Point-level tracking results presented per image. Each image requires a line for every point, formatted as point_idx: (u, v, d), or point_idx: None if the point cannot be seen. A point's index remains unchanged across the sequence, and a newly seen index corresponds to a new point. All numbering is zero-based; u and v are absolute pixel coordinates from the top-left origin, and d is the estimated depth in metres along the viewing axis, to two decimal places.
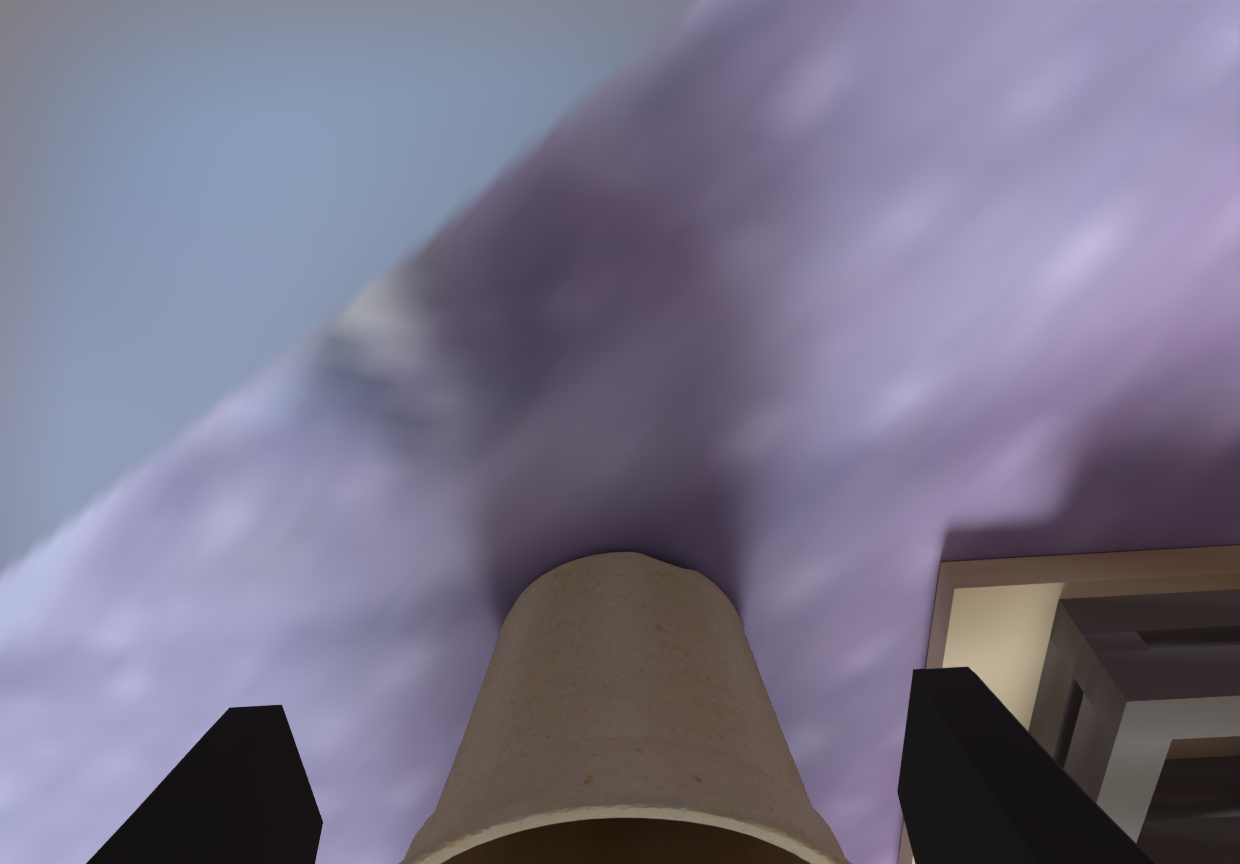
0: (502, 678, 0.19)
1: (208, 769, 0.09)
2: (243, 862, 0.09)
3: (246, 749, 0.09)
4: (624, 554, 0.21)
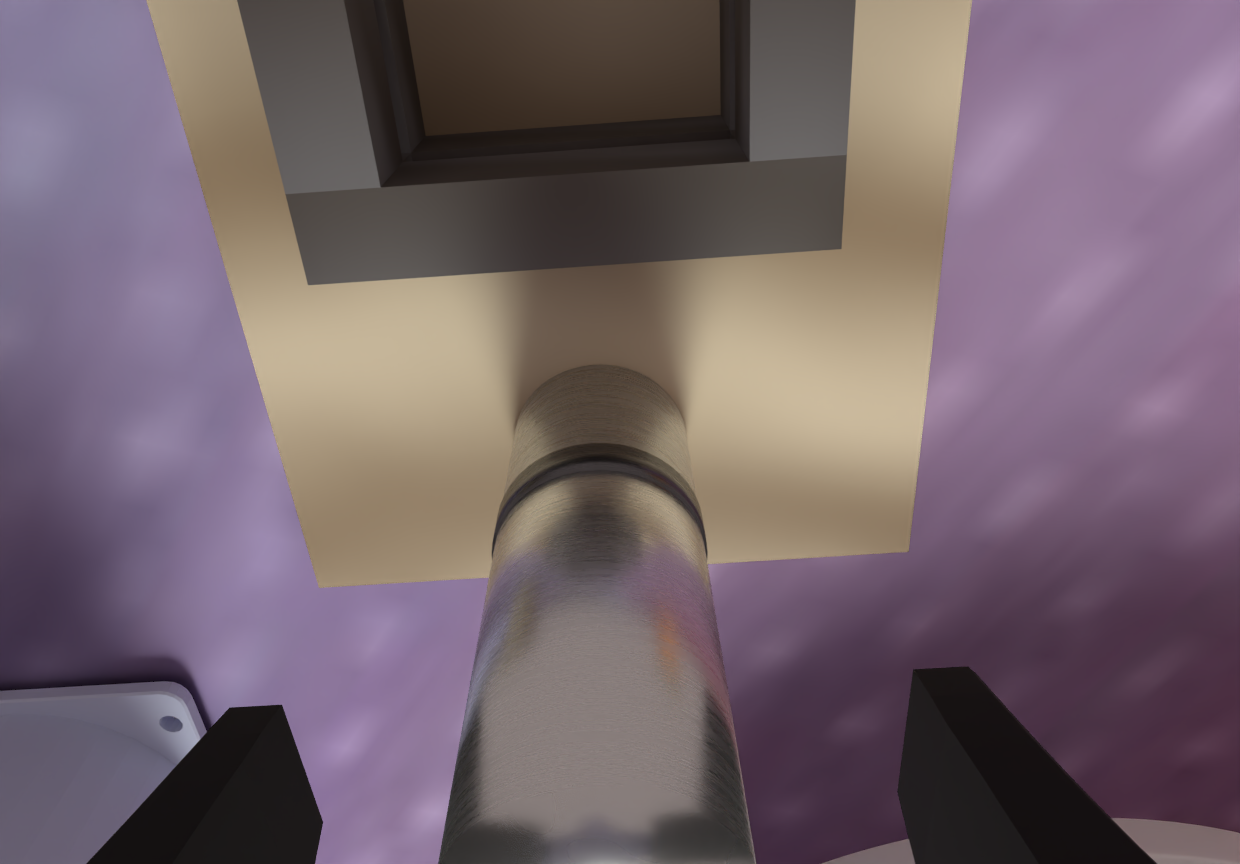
0: None
1: (208, 769, 0.09)
2: (243, 862, 0.09)
3: (246, 749, 0.09)
4: None
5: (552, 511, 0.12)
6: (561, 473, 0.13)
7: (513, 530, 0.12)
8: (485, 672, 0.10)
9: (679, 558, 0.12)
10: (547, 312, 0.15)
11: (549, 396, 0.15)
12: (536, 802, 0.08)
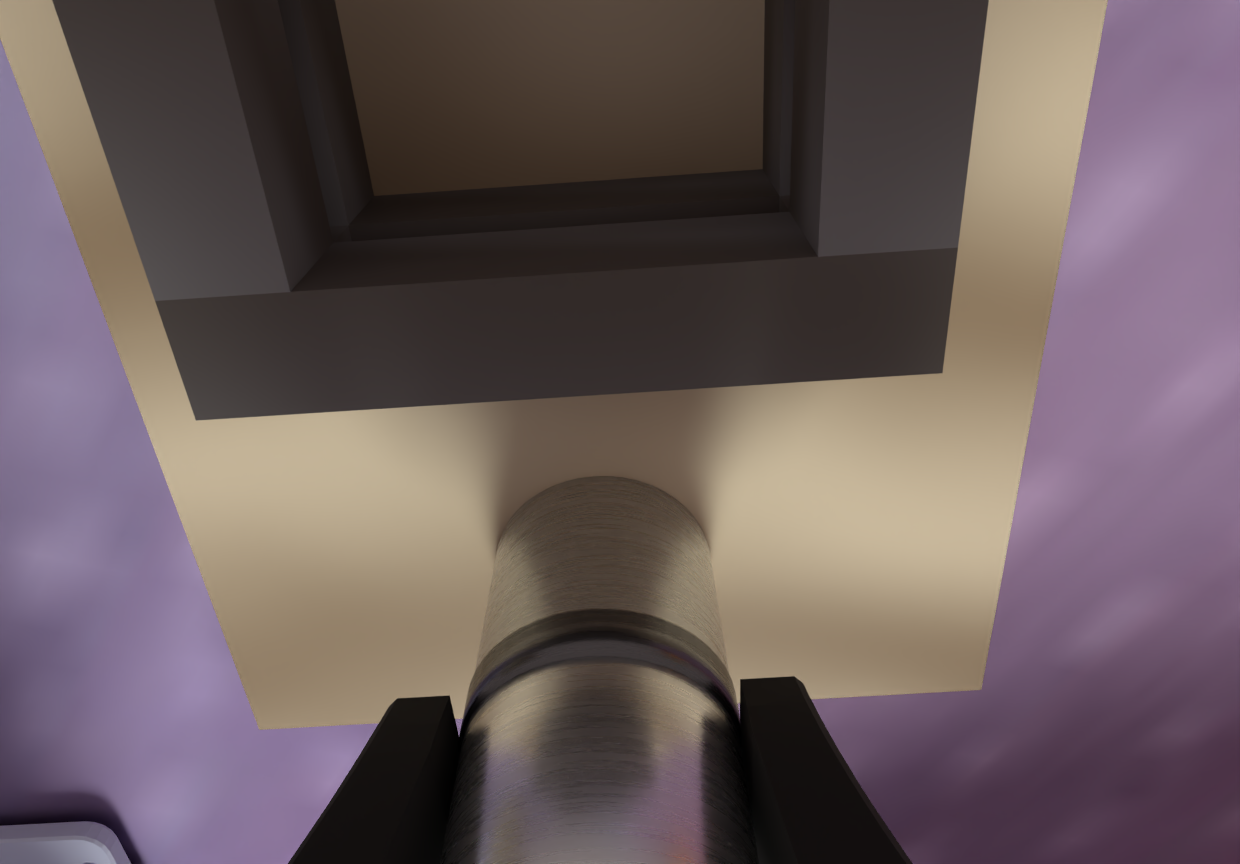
0: None
1: (396, 759, 0.09)
2: (430, 852, 0.09)
3: (428, 739, 0.09)
4: None
5: (535, 727, 0.09)
6: (550, 659, 0.09)
7: (483, 745, 0.09)
8: None
9: (712, 807, 0.08)
10: (536, 413, 0.12)
11: (538, 521, 0.12)
12: None
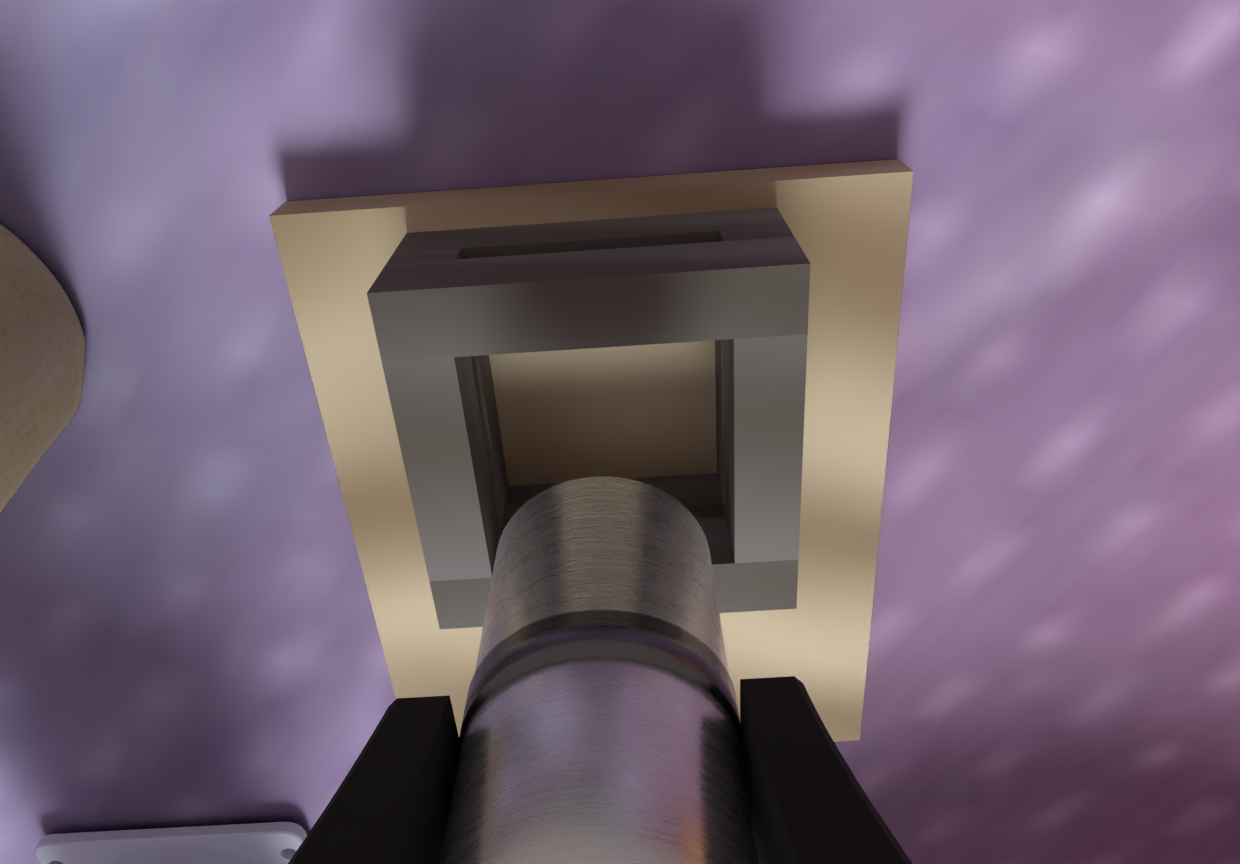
0: None
1: (396, 759, 0.09)
2: (431, 852, 0.09)
3: (428, 739, 0.09)
4: None
5: (535, 728, 0.09)
6: (550, 660, 0.09)
7: (483, 746, 0.09)
8: None
9: (712, 808, 0.08)
10: None
11: (538, 522, 0.12)
12: None
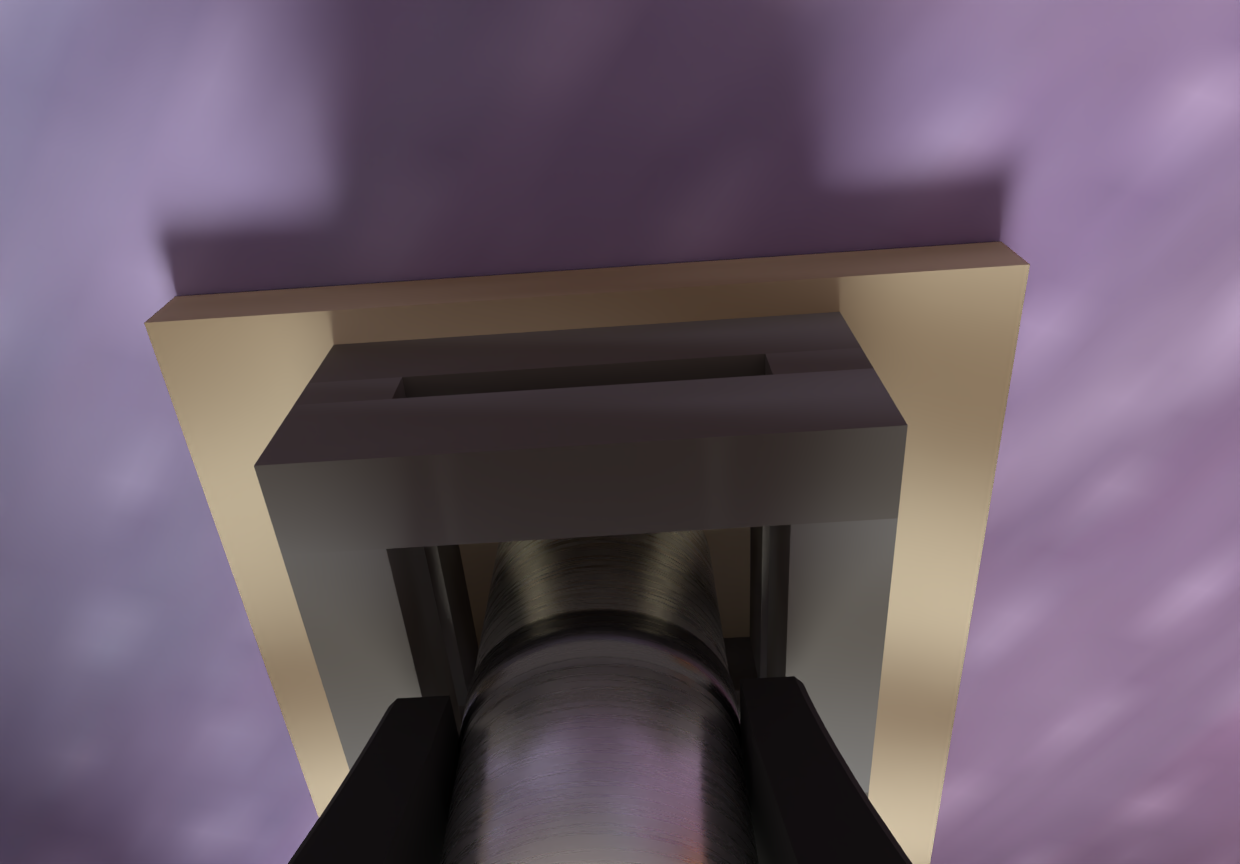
0: None
1: (396, 759, 0.09)
2: (430, 852, 0.09)
3: (428, 739, 0.09)
4: None
5: (535, 728, 0.09)
6: (549, 660, 0.09)
7: (483, 746, 0.09)
8: None
9: (712, 808, 0.08)
10: None
11: None
12: None
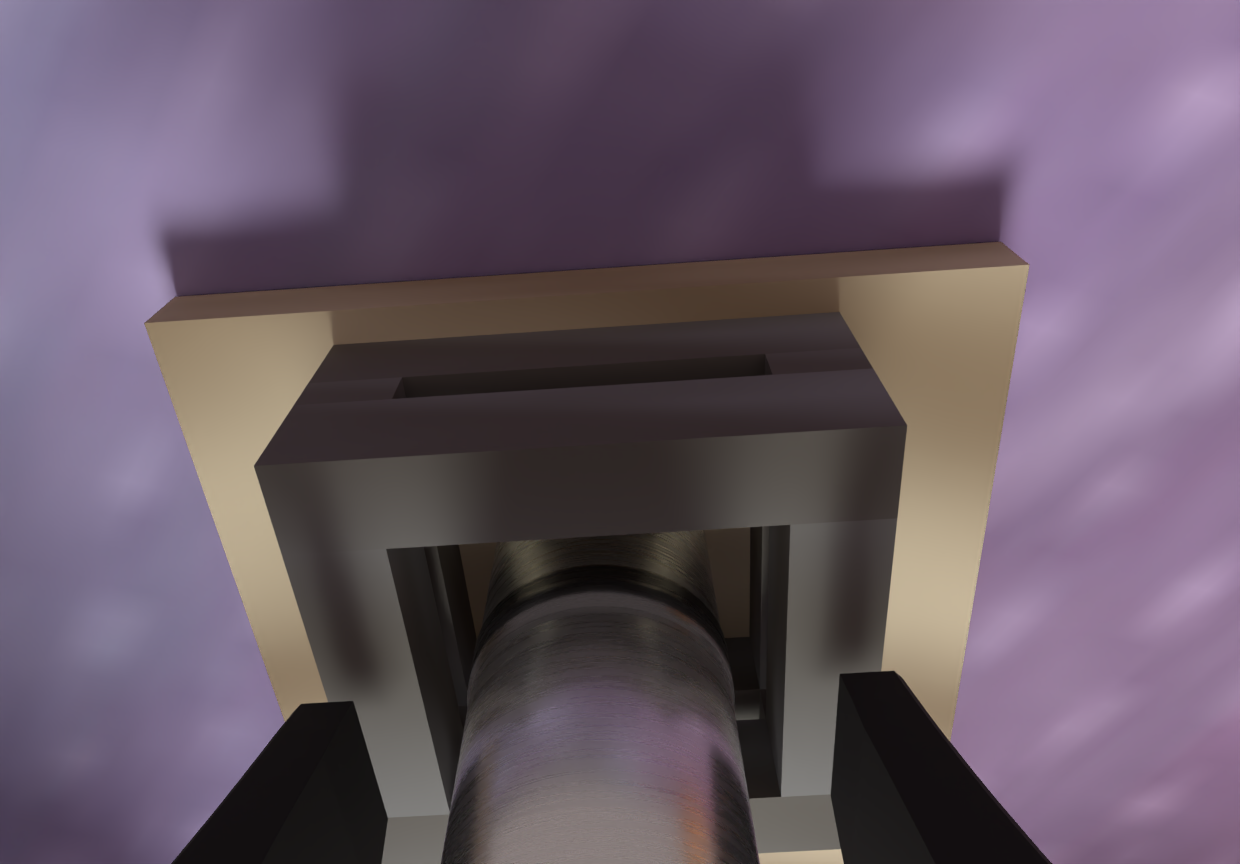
0: None
1: (288, 765, 0.09)
2: (323, 858, 0.09)
3: (324, 745, 0.09)
4: None
5: (541, 669, 0.10)
6: (553, 610, 0.10)
7: (491, 688, 0.10)
8: None
9: (704, 739, 0.09)
10: None
11: None
12: None
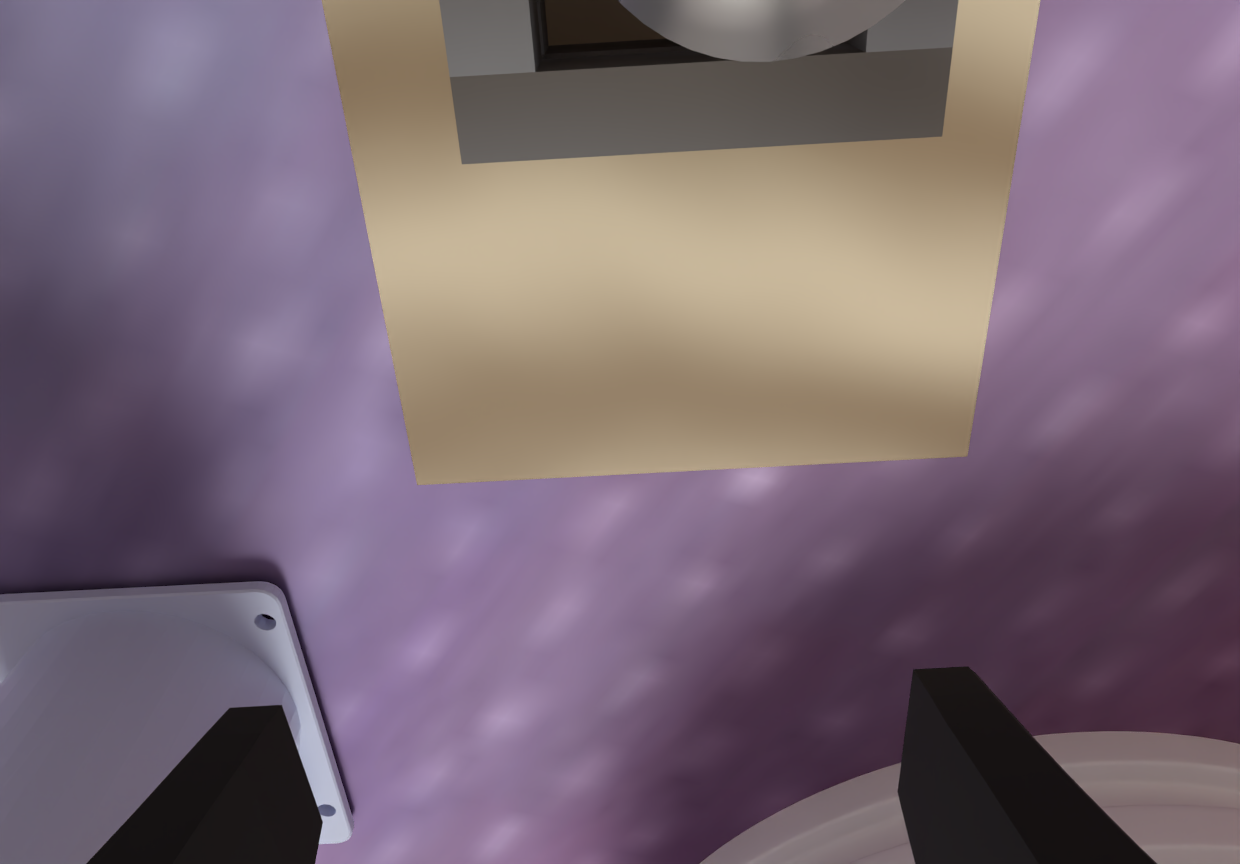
0: None
1: (208, 769, 0.09)
2: (243, 862, 0.09)
3: (246, 749, 0.09)
4: None
5: None
6: None
7: None
8: None
9: None
10: (648, 216, 0.17)
11: None
12: None
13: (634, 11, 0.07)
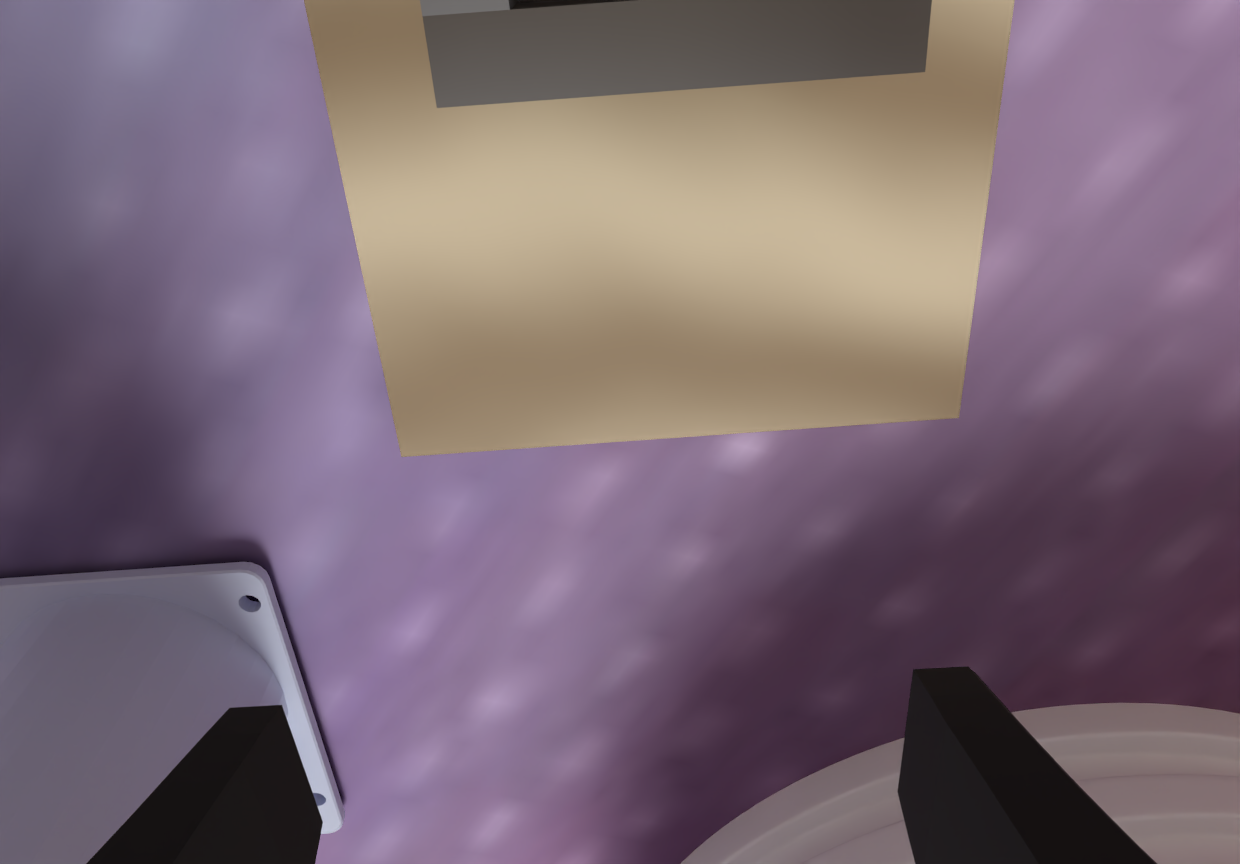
0: None
1: (208, 769, 0.09)
2: (243, 862, 0.09)
3: (246, 749, 0.09)
4: None
5: None
6: None
7: None
8: None
9: None
10: (630, 173, 0.16)
11: None
12: None
13: None
